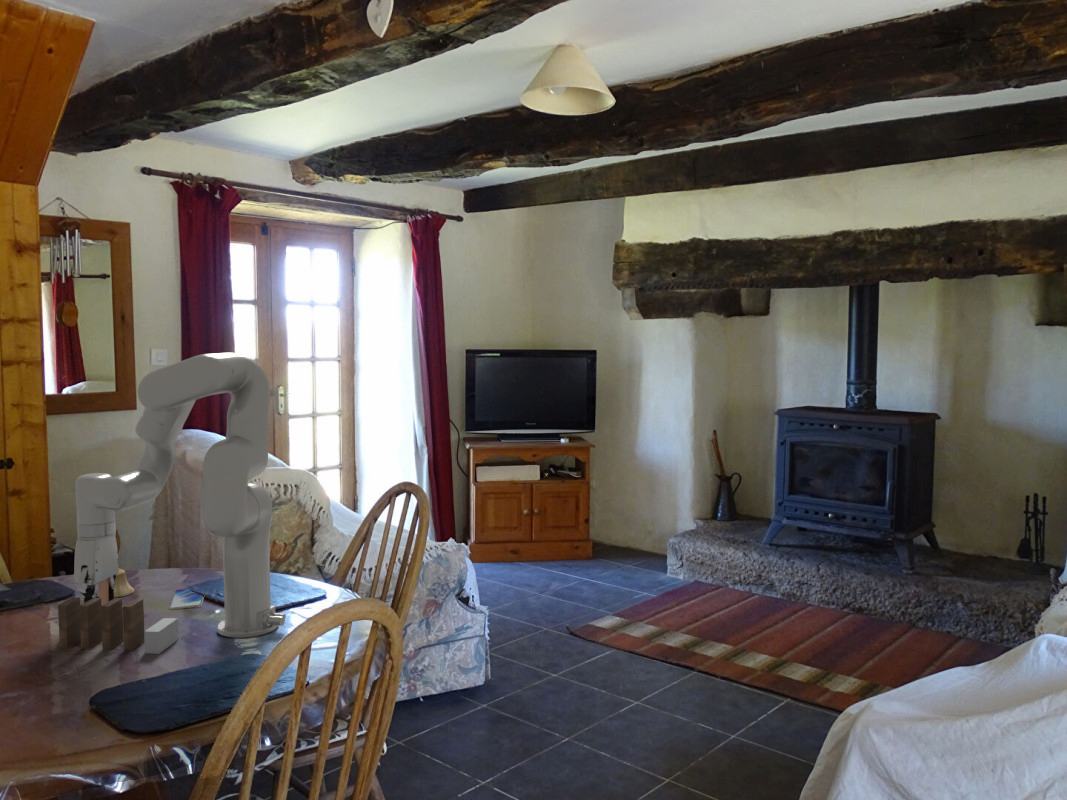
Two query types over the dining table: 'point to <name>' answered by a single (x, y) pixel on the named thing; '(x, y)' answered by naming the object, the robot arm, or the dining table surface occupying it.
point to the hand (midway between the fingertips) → (99, 609)
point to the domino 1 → (69, 622)
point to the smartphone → (186, 599)
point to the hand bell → (121, 578)
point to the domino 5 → (133, 624)
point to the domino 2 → (103, 591)
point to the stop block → (161, 635)
